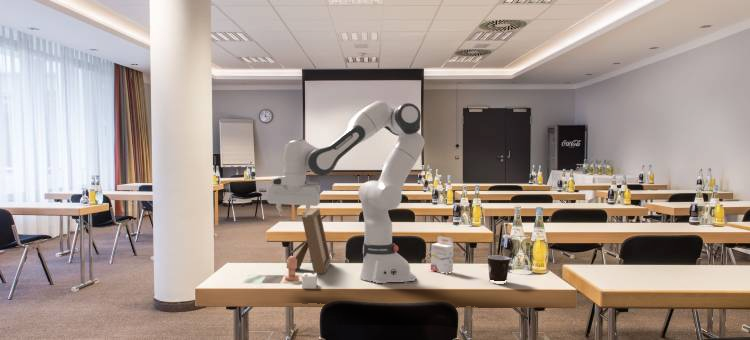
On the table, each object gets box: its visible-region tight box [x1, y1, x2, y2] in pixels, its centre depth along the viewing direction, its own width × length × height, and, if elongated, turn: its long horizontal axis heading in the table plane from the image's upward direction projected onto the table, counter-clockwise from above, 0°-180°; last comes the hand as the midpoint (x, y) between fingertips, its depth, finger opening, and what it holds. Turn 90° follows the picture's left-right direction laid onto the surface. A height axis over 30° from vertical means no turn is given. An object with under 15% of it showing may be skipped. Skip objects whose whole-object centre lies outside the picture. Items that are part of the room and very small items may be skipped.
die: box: [301, 272, 318, 289], centre depth 185 cm, size 5×5×5 cm
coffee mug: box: [487, 254, 511, 281], centre depth 196 cm, size 12×9×10 cm
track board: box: [242, 274, 303, 284], centre depth 195 cm, size 23×14×1 cm, turn 92°
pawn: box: [284, 255, 299, 281], centre depth 195 cm, size 5×5×9 cm
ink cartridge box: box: [430, 235, 454, 274], centre depth 213 cm, size 9×5×15 cm, turn 49°
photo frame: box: [294, 208, 332, 275], centre depth 214 cm, size 15×22×25 cm
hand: (292, 216), depth 195 cm, fingers open, 8 cm apart
